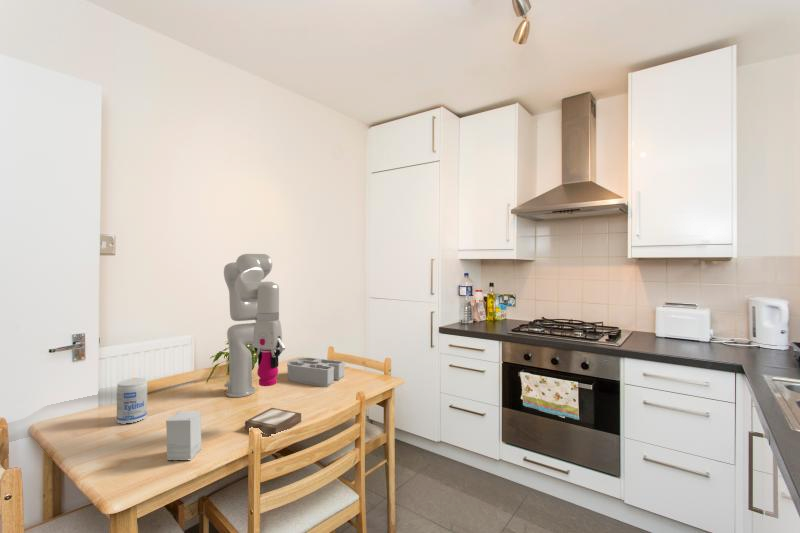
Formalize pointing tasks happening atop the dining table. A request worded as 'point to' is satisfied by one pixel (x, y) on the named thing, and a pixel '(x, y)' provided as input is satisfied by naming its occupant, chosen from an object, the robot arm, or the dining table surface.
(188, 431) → the supplement box
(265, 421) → the base
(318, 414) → the dining table surface
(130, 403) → the supplement tub
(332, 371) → the grey hollow block
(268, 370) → the pepper mill
